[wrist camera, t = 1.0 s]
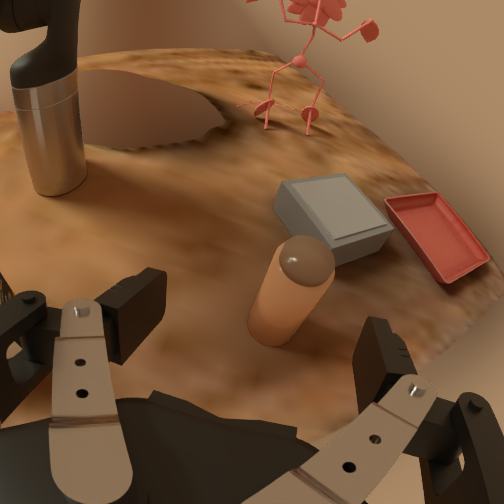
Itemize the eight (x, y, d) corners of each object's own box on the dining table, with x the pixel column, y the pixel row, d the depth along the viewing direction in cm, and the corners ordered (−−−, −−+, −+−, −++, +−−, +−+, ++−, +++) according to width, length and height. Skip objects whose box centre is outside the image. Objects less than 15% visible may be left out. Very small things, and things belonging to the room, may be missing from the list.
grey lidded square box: (272, 208, 45) (281, 180, 41) (333, 196, 50) (345, 172, 46) (317, 273, 39) (333, 246, 35) (378, 251, 44) (395, 227, 41)
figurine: (344, 144, 64) (399, -1, 38) (225, 127, 58) (262, -46, 32) (323, 113, 73) (364, -10, 47) (221, 98, 68) (250, -41, 42)
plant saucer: (435, 296, 42) (448, 283, 39) (374, 210, 51) (383, 196, 49) (480, 269, 49) (491, 258, 47) (429, 202, 58) (437, 191, 56)
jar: (239, 312, 34) (265, 239, 25) (280, 298, 36) (317, 226, 27) (261, 353, 31) (299, 293, 22) (302, 336, 33) (351, 273, 24)
